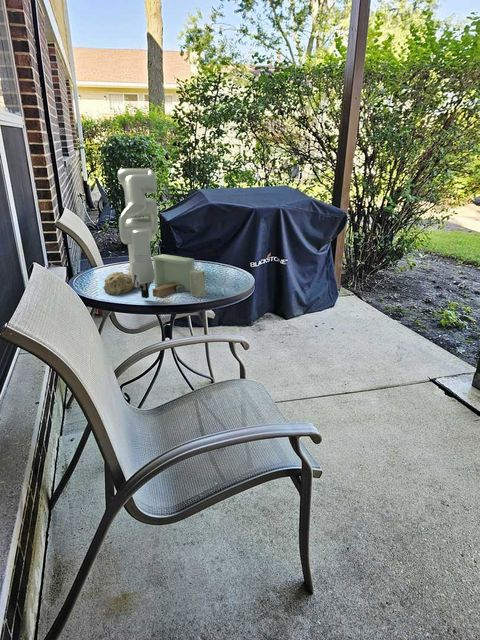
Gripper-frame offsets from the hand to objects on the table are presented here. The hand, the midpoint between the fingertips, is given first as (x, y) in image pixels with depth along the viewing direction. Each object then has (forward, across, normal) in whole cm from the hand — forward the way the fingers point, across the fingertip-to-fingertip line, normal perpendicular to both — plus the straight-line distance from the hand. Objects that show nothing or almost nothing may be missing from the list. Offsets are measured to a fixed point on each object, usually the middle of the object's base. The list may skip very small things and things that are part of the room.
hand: (145, 297), depth 190 cm
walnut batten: (+2, -15, 0) cm, 15 cm away
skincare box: (+2, -19, +16) cm, 25 cm away
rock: (+2, -7, -22) cm, 24 cm away
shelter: (+2, -21, 0) cm, 21 cm away
